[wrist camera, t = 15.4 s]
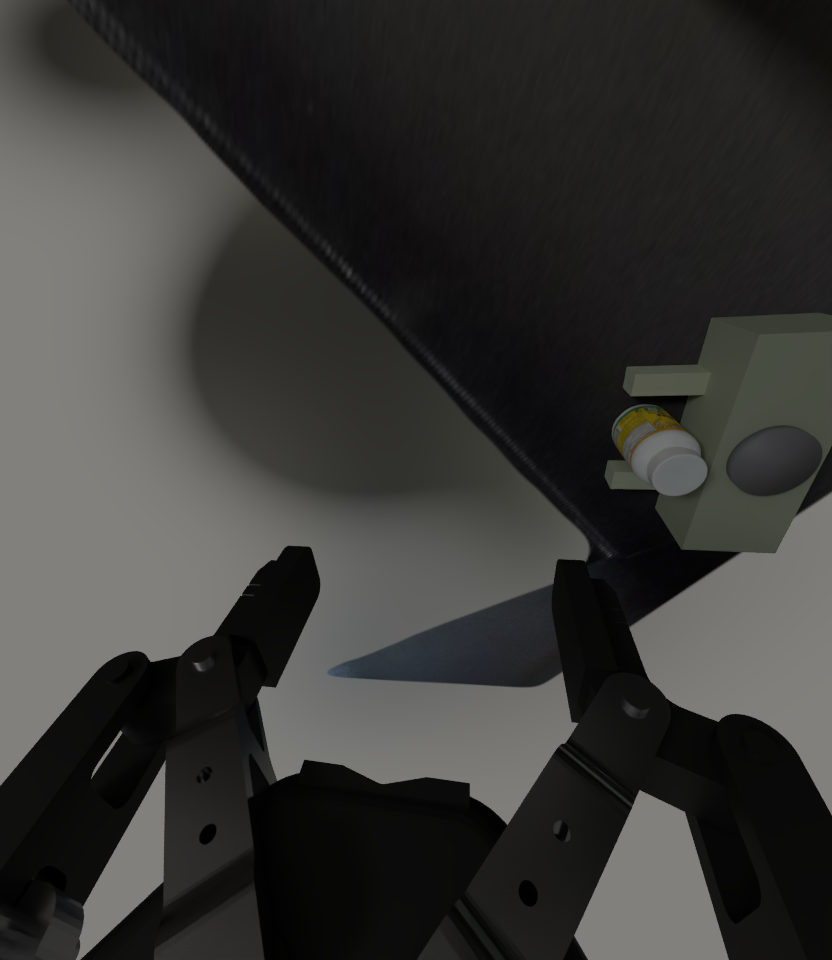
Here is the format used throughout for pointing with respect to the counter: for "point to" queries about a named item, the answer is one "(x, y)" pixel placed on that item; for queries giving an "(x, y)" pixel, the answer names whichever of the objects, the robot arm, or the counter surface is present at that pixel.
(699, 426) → the olive footed block
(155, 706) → the robot arm
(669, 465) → the supplement bottle
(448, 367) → the counter surface
